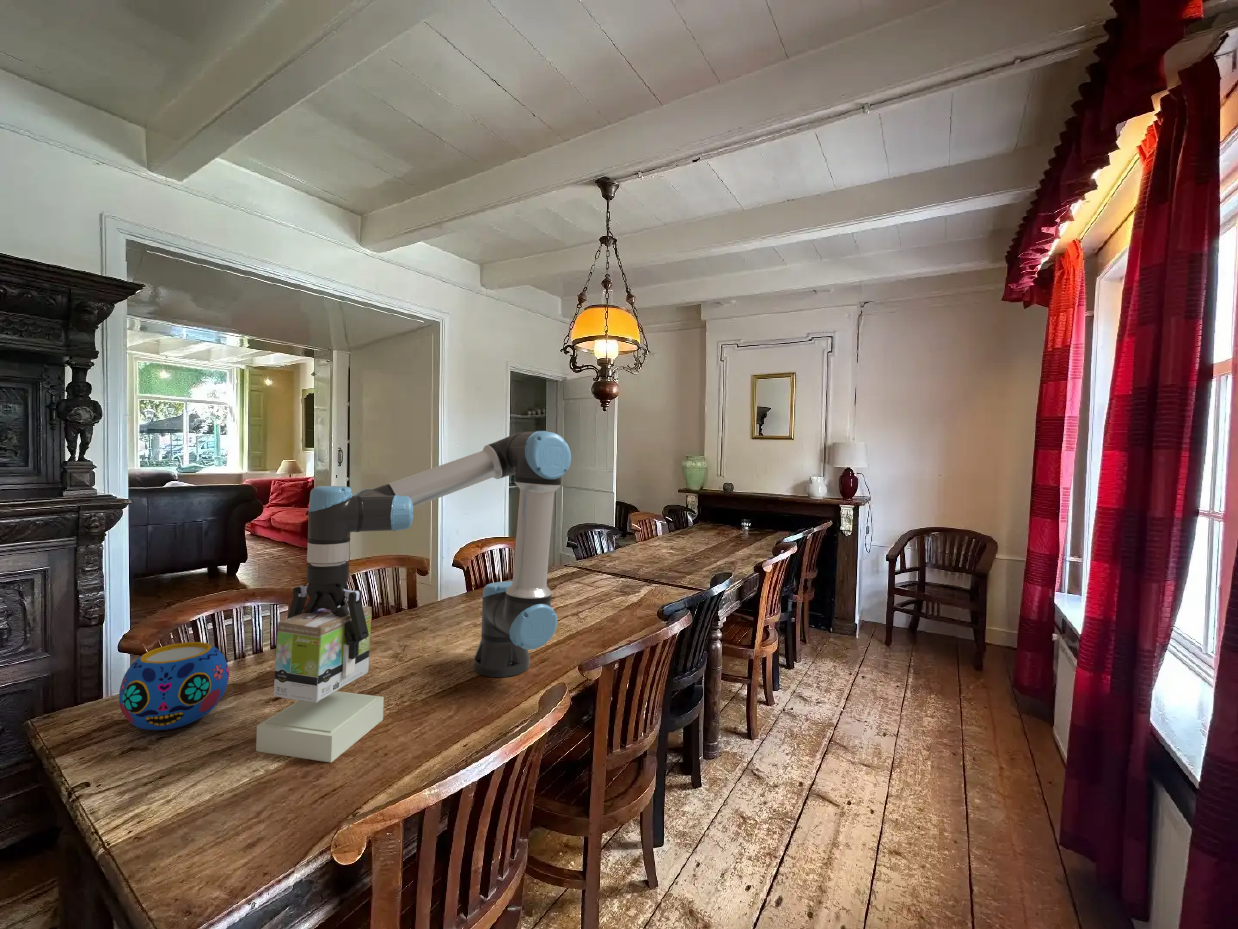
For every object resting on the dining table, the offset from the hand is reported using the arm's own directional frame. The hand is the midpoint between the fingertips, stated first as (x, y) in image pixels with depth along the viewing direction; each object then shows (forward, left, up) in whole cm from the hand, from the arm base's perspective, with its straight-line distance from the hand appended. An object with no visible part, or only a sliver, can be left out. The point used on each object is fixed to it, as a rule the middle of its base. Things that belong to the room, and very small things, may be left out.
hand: (324, 670), depth 106 cm
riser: (0, 0, -13) cm, 13 cm away
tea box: (0, 0, -3) cm, 3 cm away
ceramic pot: (+32, +3, -13) cm, 35 cm away
